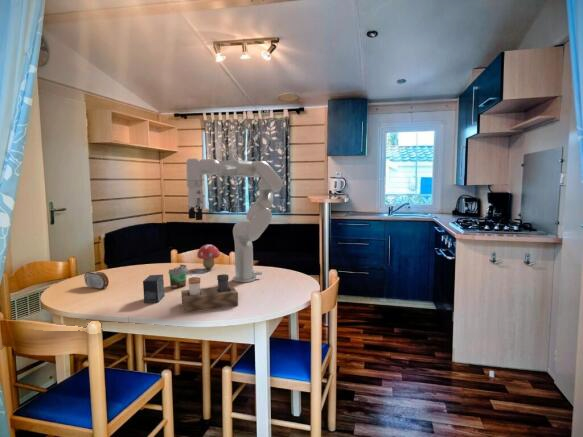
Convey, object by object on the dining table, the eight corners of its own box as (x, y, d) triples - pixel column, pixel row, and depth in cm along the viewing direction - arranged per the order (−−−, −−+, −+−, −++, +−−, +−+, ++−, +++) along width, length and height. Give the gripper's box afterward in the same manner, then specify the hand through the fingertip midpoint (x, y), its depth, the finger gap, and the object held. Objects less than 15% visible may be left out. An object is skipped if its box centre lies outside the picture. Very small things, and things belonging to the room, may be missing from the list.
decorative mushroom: (212, 272, 214) (211, 247, 213) (193, 270, 219) (192, 245, 217) (224, 267, 226) (223, 243, 225) (206, 265, 231) (205, 242, 230)
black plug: (228, 300, 161) (227, 273, 160) (230, 303, 157) (229, 276, 156) (217, 301, 159) (216, 275, 158) (219, 305, 155) (218, 277, 154)
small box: (150, 296, 169) (149, 274, 168) (164, 296, 169) (163, 274, 168) (143, 304, 158) (142, 280, 157) (158, 303, 159) (157, 280, 158)
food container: (180, 290, 179) (179, 270, 178) (169, 289, 180) (168, 269, 179) (192, 283, 191) (191, 264, 190) (181, 282, 192) (180, 264, 191)
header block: (232, 298, 166) (231, 285, 165) (238, 306, 154) (237, 292, 154) (181, 304, 158) (181, 290, 157) (184, 313, 146) (183, 298, 146)
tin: (109, 288, 182) (108, 272, 181) (104, 290, 179) (103, 273, 178) (89, 285, 188) (88, 269, 187) (83, 287, 185) (82, 271, 185)
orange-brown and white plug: (200, 303, 157) (199, 276, 156) (201, 307, 152) (200, 279, 151) (188, 305, 155) (187, 277, 154) (190, 308, 151) (189, 280, 150)
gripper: (209, 184, 172) (209, 220, 173) (196, 184, 186) (196, 217, 188) (193, 184, 168) (194, 221, 169) (181, 184, 182) (182, 218, 183)
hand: (195, 219), depth 178 cm, fingers open, 9 cm apart
